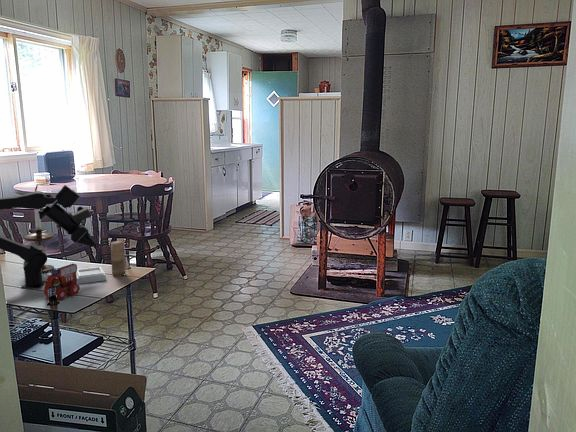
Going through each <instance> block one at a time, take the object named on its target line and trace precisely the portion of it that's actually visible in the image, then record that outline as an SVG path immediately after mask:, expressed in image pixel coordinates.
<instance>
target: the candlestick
mask: <svg viewBox="0 0 576 432" xmlns="http://www.w3.org/2000/svg"><path fill="white" fill-rule="evenodd" d="M38 187H39V186H38V184H36V185H35V188H34V192H35V191H38ZM38 211H41V209H34V220H35V228H33V229H32V230H33V231H35V232H33V233H28V234H25V235H23V240H24V241H25V242H35V243H37V245H39V246H42V247H43V243H42V242H44V241H50V240H53V239H55V236H56V235H55V233H53V232H43V230H45V227H44V228H43V227H42V222H41V221H42V219H40V218H39V213H38ZM53 269H55V265H52V264H44V265H43V266H42V274H47V273H51V271H52V270H53Z"/></svg>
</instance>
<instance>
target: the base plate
mask: <svg viewBox="0 0 576 432" xmlns="http://www.w3.org/2000/svg"><path fill="white" fill-rule="evenodd" d="M76 275H77V284H78V285H80V284H85V283H86V284H87V283H93V282H101V281H102V282H103V281H106V280H107V276H106V273H105V271H104V269H103V267H101V266H96V267H95V266H94V267H87V268H77V271H76Z"/></svg>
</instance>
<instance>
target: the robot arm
mask: <svg viewBox="0 0 576 432" xmlns="http://www.w3.org/2000/svg"><path fill="white" fill-rule="evenodd" d="M80 198H81V195H79V193H77V192H76V191H75V190H73V189H71V188H70V187H69V186H67V185H66V184H64V185H63V186H62V187H61V189H60V190H59V191H58V192H57V193H56V194H46V193H44V192H43V191H40V190H37V191H35V190H34V191H32V192H27V193H24V194H20V195H17V196H7V197H0V210H9V209H16V208H18V209H19V208H20V209H27V210H28V209H29V210H30V209H31V210H35V209H40V211H38V213H39V218H40V219H41V220H42V219H43V218H44V217H47V219H48V220H50V221H52V222H53V223H54V224H56V226H57V227H58V228H61V229H62V230H64V231H65V232H66V234H67V235H68V236H69V237H70V240H71V241H72V242H73V243H76V244H81V245H86V246H88V247H89V246H90V247H94V248H96V247H97V246H98V244H97V243H96V242H95V238H94V237H93V236H92V235H91V234H90V232H89V229H88V228H87V227H86V225H85V222H84V220H86V219H89V218H91V217H92V216H93V215H92V213H91V212H90V210H89V208H88V207H83V206H81V205H80V206H77V207H76V211H75V212H74V213H72V212H70V211H69V212H68V211H66V209H68V208H69V209H70V208H72V206H74V204H75V203H77V201H79V199H80ZM61 206H62V207H63V208H62V207H61ZM41 209H42V210H41ZM0 250H3V251H5V252H8V253H10V254H13V255H16V256H18V257H19V258H21V259H22V260H23V268H22V269H23V274H24V282H25V283H24V284H23V285H21V289H26V288H27V289H31V288H32V289H34V288H35V289H37V288H38V289H39V288H41V287H43V286H45V284H46V281H47V280H44V277H43V273H42V266H43V265H46V263H47V262H48V254H47V251H46V249H44V248H43V245H42V246H39V245H38V244H36V243H34V241H30V243H29V244H23V243H21V242H17V241H15V240H13V239H11V238H8V237H5V236H3V235H1V234H0Z"/></svg>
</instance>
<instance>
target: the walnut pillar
mask: <svg viewBox="0 0 576 432" xmlns="http://www.w3.org/2000/svg"><path fill="white" fill-rule="evenodd" d="M110 257H111V261H110V262H111V276H112V275H113V276H112V277H121V276H120V275H124V274H125V275H126V274H127V273H126V253H125V242H124V241H122V240H116V241H112V242H110ZM125 275H124V276H125Z"/></svg>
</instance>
